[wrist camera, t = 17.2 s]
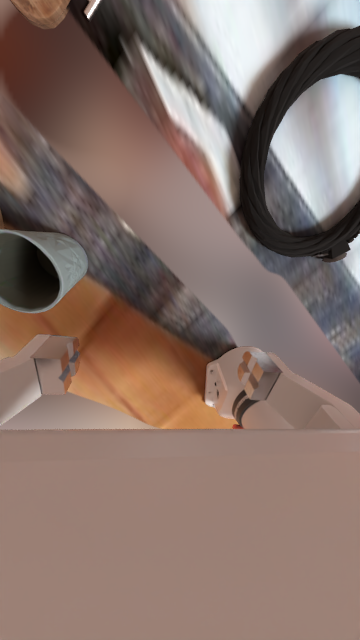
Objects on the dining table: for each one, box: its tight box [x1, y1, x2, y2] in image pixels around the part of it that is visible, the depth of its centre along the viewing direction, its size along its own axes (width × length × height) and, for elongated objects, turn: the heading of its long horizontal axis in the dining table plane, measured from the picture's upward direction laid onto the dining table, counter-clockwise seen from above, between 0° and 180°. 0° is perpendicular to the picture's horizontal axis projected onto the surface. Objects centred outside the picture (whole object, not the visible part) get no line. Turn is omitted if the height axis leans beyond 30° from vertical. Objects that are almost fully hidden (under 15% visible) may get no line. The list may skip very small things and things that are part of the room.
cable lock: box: [240, 26, 360, 262], centre depth 31 cm, size 28×4×30 cm
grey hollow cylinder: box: [0, 229, 88, 313], centre depth 28 cm, size 10×10×12 cm
